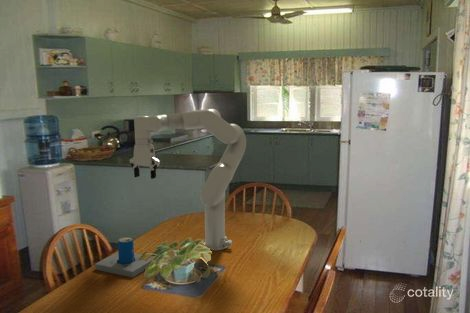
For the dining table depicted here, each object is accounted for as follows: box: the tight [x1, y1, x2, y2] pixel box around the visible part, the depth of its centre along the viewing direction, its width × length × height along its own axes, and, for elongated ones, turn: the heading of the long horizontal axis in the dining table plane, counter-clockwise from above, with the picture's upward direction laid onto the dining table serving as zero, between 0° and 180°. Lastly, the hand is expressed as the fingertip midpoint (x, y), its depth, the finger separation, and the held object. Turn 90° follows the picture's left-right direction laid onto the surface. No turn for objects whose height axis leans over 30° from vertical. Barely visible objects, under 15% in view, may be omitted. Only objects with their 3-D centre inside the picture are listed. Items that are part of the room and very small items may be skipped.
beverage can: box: [117, 236, 135, 264], centre depth 180 cm, size 6×6×12 cm
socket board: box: [94, 251, 153, 279], centre depth 181 cm, size 20×16×2 cm
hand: (145, 177), depth 203 cm, fingers open, 9 cm apart
